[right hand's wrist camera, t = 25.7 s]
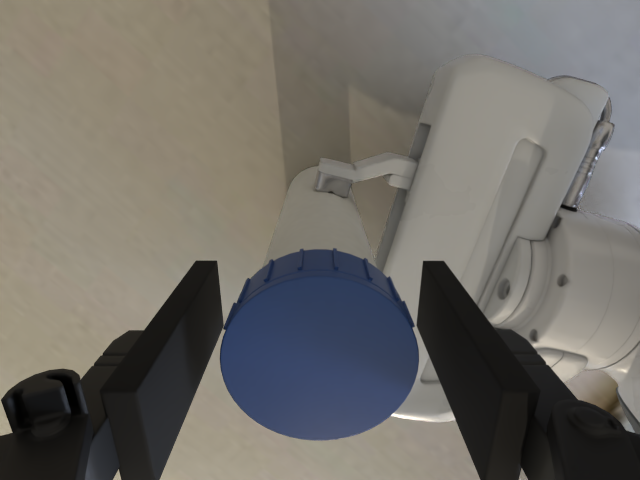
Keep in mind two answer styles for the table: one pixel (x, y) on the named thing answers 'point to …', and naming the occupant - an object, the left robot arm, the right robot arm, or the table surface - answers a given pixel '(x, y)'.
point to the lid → (319, 346)
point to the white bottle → (318, 222)
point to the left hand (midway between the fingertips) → (303, 226)
